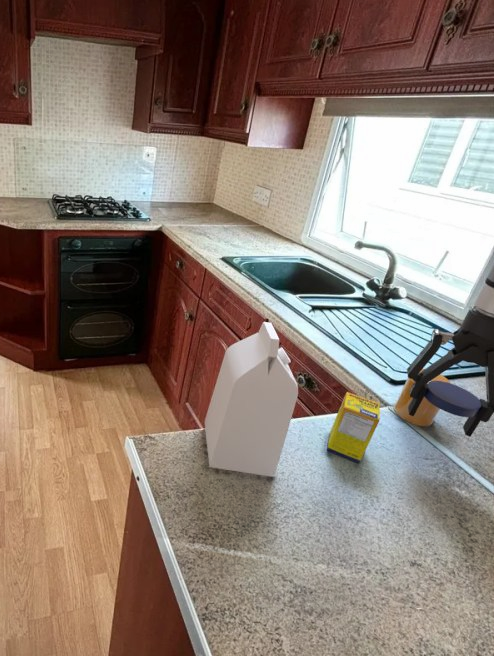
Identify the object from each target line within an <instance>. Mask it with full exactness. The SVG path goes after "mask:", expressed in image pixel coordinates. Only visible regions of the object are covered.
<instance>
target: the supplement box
mask: <svg viewBox="0 0 494 656" xmlns="http://www.w3.org/2000/svg"><path fill="white" fill-rule="evenodd" d="M380 405H381V404H380V402H377V401H374V400H372V399H368V398H366V397H362V396H360V395H357V394H354V393H351V392H349V391H346V393H345V395H344V397H343V399H342V402H341V404H340V407H339V409H338V412H337V414H336V416H335V419H334V421H333V424H332V426H331V429H330V431H329V434H328V440H327V446H326V451H328V452H330V453H333V454H335V455H337V456H340V457H343V458H345V459H348V460H350V461H352V462H354V463H357V464H360V463H361V461H362V459H363V456H364V454H365V452H366V450H367V449H368V446H369V444H370V442H371V440H372V437H373V436H374V433H375V431H376V429H377V427H378V425H379V423H380V420H381V418H380V417H381V416H380V415H381V414H380V411H381V410H380V407H381V406H380Z"/></svg>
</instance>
